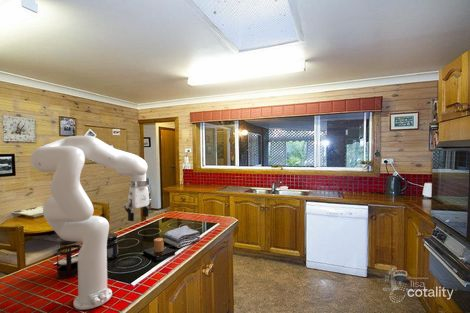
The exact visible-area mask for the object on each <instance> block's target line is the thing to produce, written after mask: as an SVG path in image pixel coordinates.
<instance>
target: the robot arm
mask: <svg viewBox="0 0 470 313" xmlns="http://www.w3.org/2000/svg"><path fill="white" fill-rule="evenodd" d="M86 160H89V161H91V162H94V163H96V164H97V165H100V166H102V167H105V168H111V169H115V172H116V173H117V174H118V175H120V176H123V177H124V176H125V177H126V176H128V177H129V176H130V177H129V178H130V183H129V184H128V185H129V189H128V197H127V198H128V199H127V202H125V203H124V204H123V207H124V210H125V211H126V213H127V221H128V222H134V221H135V213H134V212H135V209H141V208H142V217H144V218H148V217H149V210H150V206H151V204H152V199H151V198H150V193H149V188H148V186H147V171H148V166H149V165H148V163H147V161H146V160H144V159H143V157H140V156H139V155H137V154H134V153H131V152H128V151H124V150H121V149H118V148H115V147H113V146H112V145H110V144H108V143H106V142H105V141H102V140H101V139H99V138H97V137H95V136H92V135H72V136H71V135H70V136H66V137H63V138H60V139H57V140H54V141H52V142H49V143H46V144H44V145H41V146H39V147H37V148H35V149H34V150H33V151H32V153H31V154H30V157H29V162H30V165H31V167H32V168H34V169H35V170H36V171H39V172H43V173H54V174H53V177H52V179H51V181H50V185H49V192H50V194H51V196H50V197H48V198H47V200H46V201H45V202H44V203H43V207H42V213H43V217H44V220H46V222H47V224H48V225H49V226H50V227H51V228H52V229H53V231H54V232H55V233H56V235H57V236H58V238H62V239H63V240H66V241H76V242H77V243H82V245H81V246H82V247H81V248H80V250H79V251H78V253H77V257H78V261H77V263H78V275H77V284H78V285H77V294H78V295H77V296H76V297H75V298H74V299H73V302H72V303H73V308H75V309H76V310H81V311H82V310H91V309H94V308H97V307H100V306H103V305H104V304H105V303H107V302H108V301H109V300H111V298H112V297H113V290H112V289H111V288H109V287H108V261H107V238H108V233H110V223H109V221H108V219H106V218H105V217H103V216H101V215H93V214H94V212H95V209H94V205H93V202H92V201H91V199H90V198H89V196H88V194H87V193H86V191H85V189H84V187H83V185H82V184H81V174H82V171H83V168H84V165H85V163H86Z"/></svg>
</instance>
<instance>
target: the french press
mask: <svg viewBox="0 0 470 313" xmlns="http://www.w3.org/2000/svg"><path fill="white" fill-rule="evenodd" d="M56 242H58V244H59V245H60V246H62V247H59V248H57V249H56V279H58V280H67V279H71V278H74V277H76V276H78V256H72V254H75V253H77V252H79V251H80V249H81V247H82V245H80V244H77V243H78V242H76V241H66V240H63V239H62V238H60V237H58V238H57V239H56ZM64 250H66V251H64ZM59 256H65V258H62V259H60V260H59Z"/></svg>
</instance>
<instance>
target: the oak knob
mask: <svg viewBox="0 0 470 313" xmlns="http://www.w3.org/2000/svg"><path fill="white" fill-rule="evenodd" d="M164 243H165V241H164V238H163V237H157V238H154V239H153V247H154V252H161V251H163V250H164V246H165V244H164Z"/></svg>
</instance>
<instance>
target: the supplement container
mask: <svg viewBox="0 0 470 313" xmlns="http://www.w3.org/2000/svg"><path fill="white" fill-rule="evenodd" d="M118 256H119V239H118V234H117V233H115V232H109V233H108V238H107V262H109V261H112V260H115V259H116V258H117V257H118Z"/></svg>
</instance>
